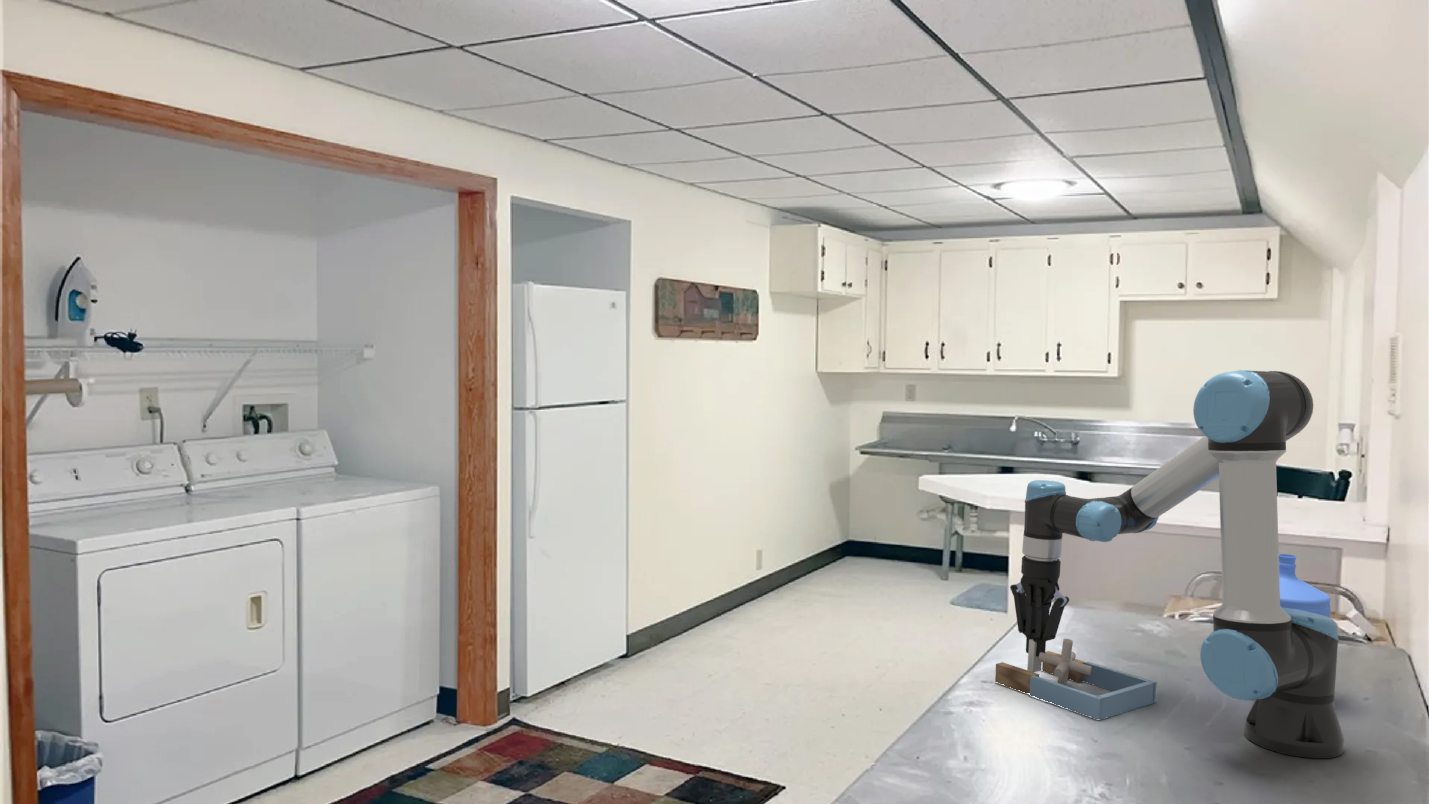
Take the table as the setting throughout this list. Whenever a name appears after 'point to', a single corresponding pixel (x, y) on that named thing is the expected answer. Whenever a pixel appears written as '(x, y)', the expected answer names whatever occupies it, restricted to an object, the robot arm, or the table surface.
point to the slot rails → (1028, 674)
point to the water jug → (1299, 590)
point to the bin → (1124, 697)
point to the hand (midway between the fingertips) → (1034, 670)
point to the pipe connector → (1065, 662)
